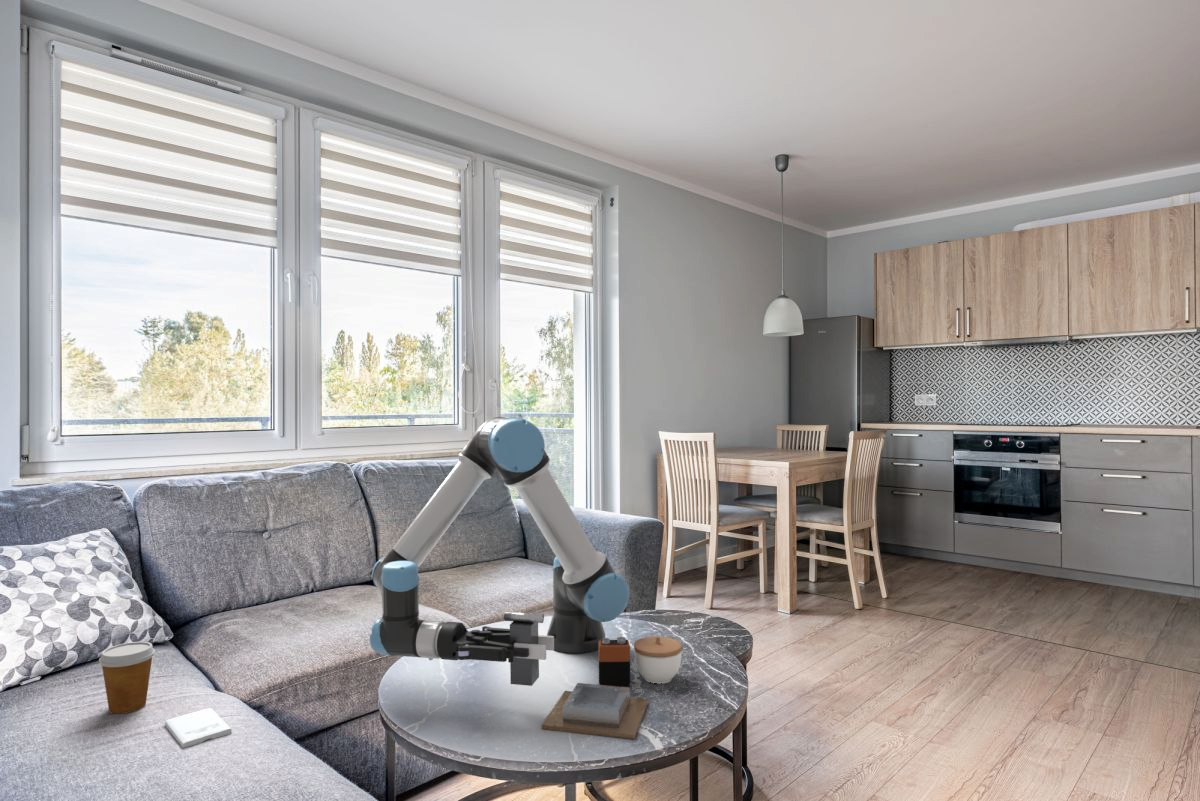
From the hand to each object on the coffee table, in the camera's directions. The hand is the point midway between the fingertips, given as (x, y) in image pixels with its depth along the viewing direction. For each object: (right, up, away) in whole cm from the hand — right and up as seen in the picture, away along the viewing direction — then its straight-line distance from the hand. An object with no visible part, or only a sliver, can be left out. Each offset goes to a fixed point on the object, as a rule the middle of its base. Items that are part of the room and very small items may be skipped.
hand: (549, 647), depth 142 cm
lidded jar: (+23, -13, +16) cm, 31 cm away
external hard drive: (-67, -14, -7) cm, 69 cm away
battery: (+13, -13, +13) cm, 23 cm away
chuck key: (-5, -7, +1) cm, 9 cm away
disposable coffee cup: (-87, -13, +2) cm, 88 cm away
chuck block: (+10, -13, -2) cm, 16 cm away
